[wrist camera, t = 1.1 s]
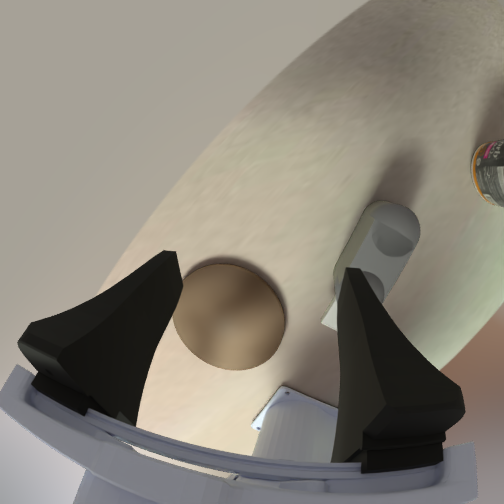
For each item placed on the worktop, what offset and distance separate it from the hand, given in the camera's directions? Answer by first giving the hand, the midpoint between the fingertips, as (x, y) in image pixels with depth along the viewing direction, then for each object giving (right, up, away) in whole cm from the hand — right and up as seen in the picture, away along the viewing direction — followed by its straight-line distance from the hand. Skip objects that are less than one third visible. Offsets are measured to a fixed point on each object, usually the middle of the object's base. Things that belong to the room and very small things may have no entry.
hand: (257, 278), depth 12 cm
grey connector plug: (+9, 0, +11) cm, 14 cm away
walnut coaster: (-3, -5, +15) cm, 16 cm away
